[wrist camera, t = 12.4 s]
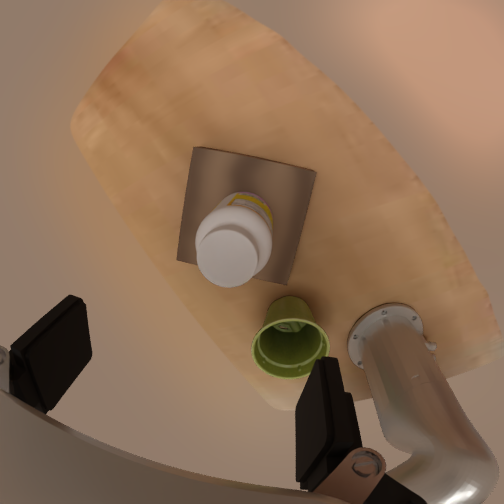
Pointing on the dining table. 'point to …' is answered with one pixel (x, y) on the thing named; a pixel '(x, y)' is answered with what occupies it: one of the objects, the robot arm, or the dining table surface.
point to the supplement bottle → (235, 240)
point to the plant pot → (289, 340)
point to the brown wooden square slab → (253, 181)
